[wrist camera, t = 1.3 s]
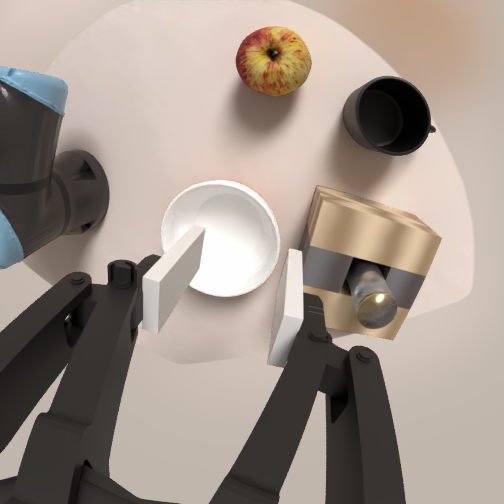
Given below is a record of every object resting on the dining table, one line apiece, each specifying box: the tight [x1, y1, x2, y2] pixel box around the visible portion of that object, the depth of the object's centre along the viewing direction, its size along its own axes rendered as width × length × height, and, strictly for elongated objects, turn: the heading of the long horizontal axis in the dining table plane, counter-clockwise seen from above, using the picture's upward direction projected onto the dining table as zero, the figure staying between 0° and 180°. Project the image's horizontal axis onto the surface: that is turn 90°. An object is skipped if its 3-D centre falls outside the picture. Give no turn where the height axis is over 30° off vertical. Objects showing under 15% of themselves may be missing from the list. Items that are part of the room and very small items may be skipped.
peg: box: [346, 258, 397, 329], centre depth 33 cm, size 4×4×9 cm
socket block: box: [299, 185, 442, 340], centre depth 40 cm, size 16×16×10 cm
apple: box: [236, 27, 312, 96], centre depth 31 cm, size 9×9×10 cm
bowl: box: [161, 180, 280, 297], centre depth 42 cm, size 16×16×8 cm
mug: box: [343, 76, 436, 156], centre depth 32 cm, size 9×12×9 cm
